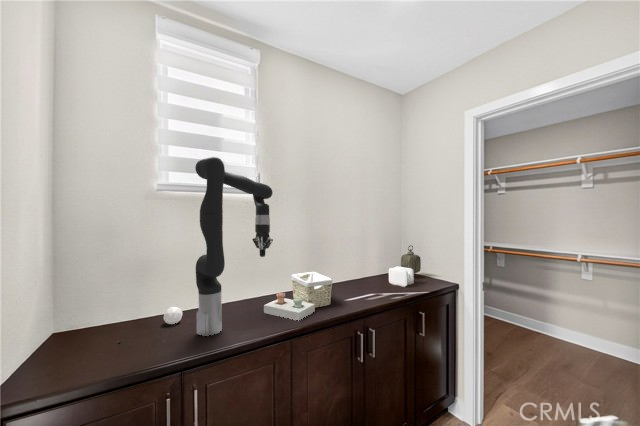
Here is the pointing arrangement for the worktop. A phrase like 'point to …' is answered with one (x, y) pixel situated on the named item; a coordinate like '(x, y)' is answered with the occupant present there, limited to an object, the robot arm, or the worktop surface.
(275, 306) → the panel
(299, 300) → the sage plunger
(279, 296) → the terracotta plunger
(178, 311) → the geometric ball
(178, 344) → the worktop surface
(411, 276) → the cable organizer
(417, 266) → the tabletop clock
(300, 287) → the storage basket
